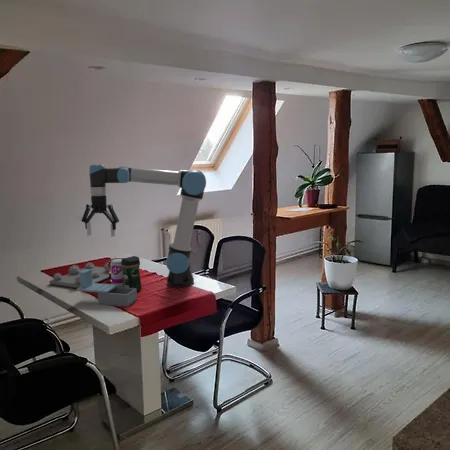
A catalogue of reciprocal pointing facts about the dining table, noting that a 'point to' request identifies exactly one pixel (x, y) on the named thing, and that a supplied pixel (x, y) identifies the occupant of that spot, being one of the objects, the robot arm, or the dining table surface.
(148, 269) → the dining table surface
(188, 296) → the dining table surface
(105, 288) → the pale blue stepped block
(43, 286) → the dining table surface
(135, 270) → the coffee jar
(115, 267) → the supplement can
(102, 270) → the decorative tray
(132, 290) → the tub
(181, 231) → the robot arm
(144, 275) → the dining table surface
